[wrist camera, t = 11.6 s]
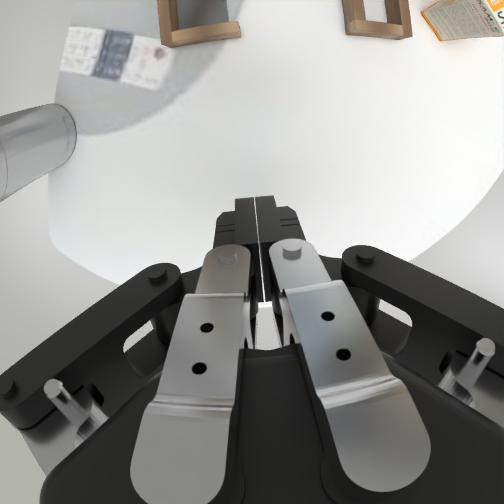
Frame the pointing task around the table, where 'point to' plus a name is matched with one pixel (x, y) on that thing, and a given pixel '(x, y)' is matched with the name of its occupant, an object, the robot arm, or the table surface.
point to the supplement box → (466, 18)
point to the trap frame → (217, 27)
